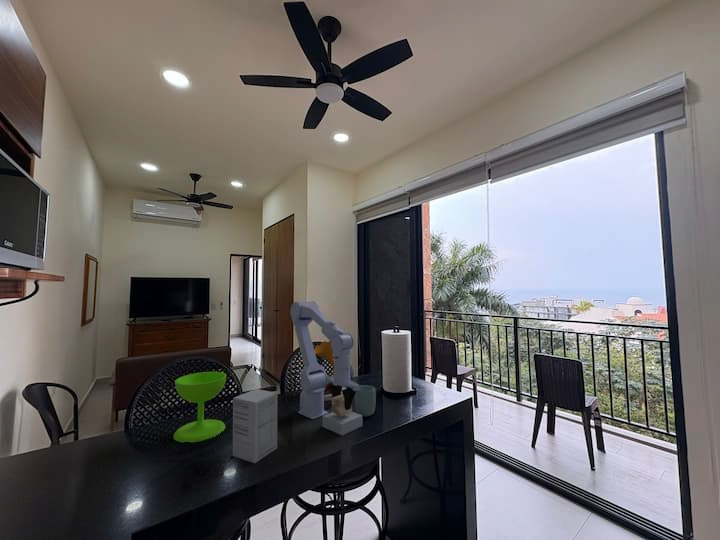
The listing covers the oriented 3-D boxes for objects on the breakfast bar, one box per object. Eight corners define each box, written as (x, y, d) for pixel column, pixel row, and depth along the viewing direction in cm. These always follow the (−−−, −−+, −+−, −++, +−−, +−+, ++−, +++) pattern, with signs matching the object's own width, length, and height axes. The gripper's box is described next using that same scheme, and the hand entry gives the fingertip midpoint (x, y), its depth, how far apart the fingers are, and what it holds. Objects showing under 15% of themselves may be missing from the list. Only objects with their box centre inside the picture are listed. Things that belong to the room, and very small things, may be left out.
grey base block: (322, 427, 111) (322, 416, 111) (343, 419, 118) (343, 408, 118) (341, 436, 104) (341, 424, 104) (362, 426, 111) (362, 415, 112)
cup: (367, 420, 116) (367, 392, 116) (351, 415, 120) (351, 388, 121) (379, 413, 122) (379, 387, 123) (363, 409, 127) (363, 384, 127)
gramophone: (331, 384, 161) (331, 334, 163) (356, 394, 146) (356, 339, 147) (295, 392, 148) (295, 339, 150) (318, 404, 132) (318, 344, 134)
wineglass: (204, 444, 98) (206, 386, 100) (161, 440, 102) (163, 383, 103) (234, 423, 114) (235, 372, 115) (196, 420, 117) (197, 371, 118)
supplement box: (256, 442, 100) (256, 388, 101) (278, 448, 96) (278, 392, 97) (231, 456, 92) (232, 397, 93) (254, 464, 87) (255, 402, 88)
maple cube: (331, 412, 111) (331, 397, 111) (342, 408, 115) (342, 394, 115) (341, 416, 108) (341, 401, 108) (351, 411, 111) (351, 397, 112)
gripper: (320, 366, 114) (320, 405, 114) (348, 374, 104) (348, 416, 104) (335, 363, 120) (335, 400, 119) (363, 370, 110) (363, 410, 109)
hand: (342, 407), depth 112 cm, fingers closed on maple cube, 5 cm apart
